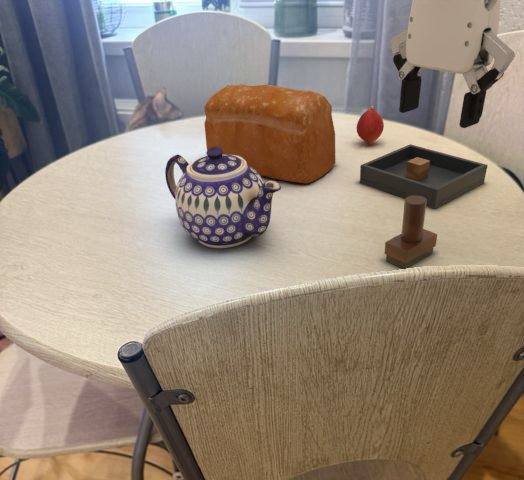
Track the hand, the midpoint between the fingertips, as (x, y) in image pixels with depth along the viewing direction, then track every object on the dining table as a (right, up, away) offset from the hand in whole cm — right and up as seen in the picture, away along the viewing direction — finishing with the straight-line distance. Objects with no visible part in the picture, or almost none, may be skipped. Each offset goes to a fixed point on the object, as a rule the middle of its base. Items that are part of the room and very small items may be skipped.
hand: (437, 117), depth 69 cm
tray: (+7, +1, +32) cm, 33 cm away
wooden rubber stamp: (-1, -16, +11) cm, 20 cm away
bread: (-21, +9, +44) cm, 50 cm away
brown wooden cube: (+6, +3, +32) cm, 33 cm away
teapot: (-29, -11, +22) cm, 38 cm away
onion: (+1, +16, +50) cm, 53 cm away
